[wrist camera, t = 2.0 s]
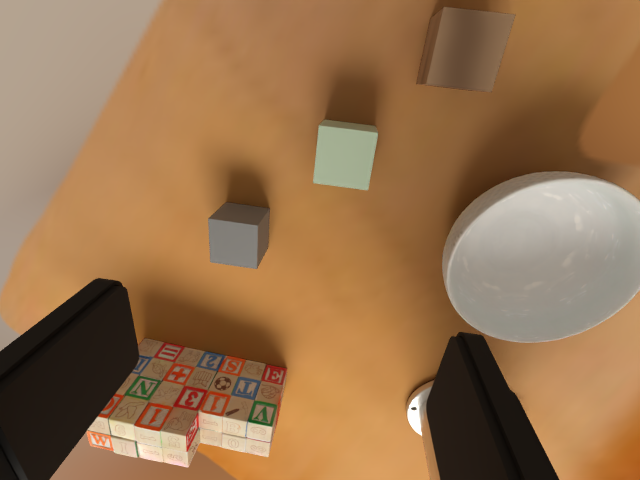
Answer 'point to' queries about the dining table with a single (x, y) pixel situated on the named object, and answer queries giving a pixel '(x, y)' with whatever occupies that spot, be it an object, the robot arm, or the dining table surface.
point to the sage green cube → (345, 154)
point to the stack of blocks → (190, 405)
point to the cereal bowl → (544, 256)
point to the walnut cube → (464, 49)
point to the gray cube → (239, 235)
